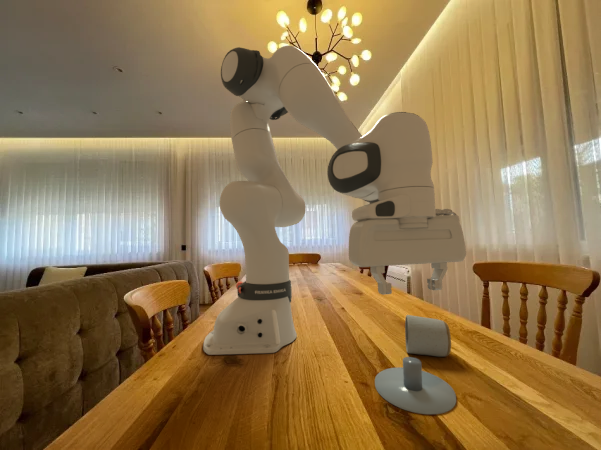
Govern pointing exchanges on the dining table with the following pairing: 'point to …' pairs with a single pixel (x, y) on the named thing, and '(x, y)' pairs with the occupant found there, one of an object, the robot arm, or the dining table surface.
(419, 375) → the lid
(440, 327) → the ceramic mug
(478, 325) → the dining table surface
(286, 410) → the dining table surface
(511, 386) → the dining table surface
